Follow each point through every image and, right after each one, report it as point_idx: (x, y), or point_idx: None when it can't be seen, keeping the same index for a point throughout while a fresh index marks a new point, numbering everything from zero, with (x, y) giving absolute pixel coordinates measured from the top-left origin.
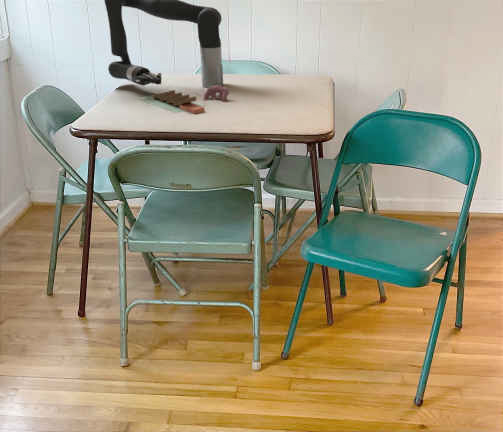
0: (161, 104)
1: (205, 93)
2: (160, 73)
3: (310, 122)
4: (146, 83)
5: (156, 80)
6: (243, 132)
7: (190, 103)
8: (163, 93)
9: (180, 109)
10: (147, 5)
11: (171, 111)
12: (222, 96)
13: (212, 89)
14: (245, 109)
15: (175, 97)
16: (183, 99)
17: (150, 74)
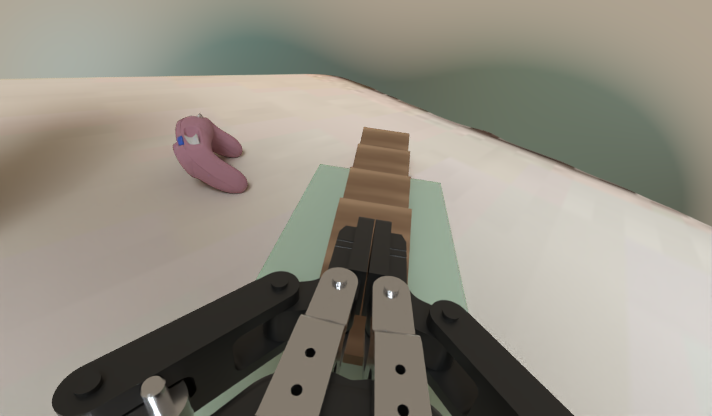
0: (425, 261)
1: (230, 166)
2: (90, 374)
3: (293, 80)
4: (455, 364)
5: (397, 235)
6: (400, 103)
7: None
8: (409, 222)
9: None
10: None
11: (442, 195)
12: (232, 139)
13: (210, 140)
14: (279, 121)
15: (408, 167)
16: (408, 142)
17: (328, 382)
